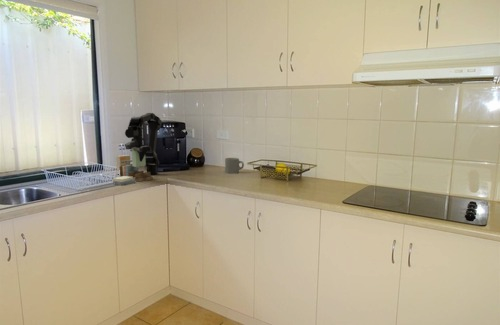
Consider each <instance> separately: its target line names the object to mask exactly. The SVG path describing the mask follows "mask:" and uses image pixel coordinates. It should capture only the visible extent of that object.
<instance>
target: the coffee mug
mask: <svg viewBox="0 0 500 325" xmlns="http://www.w3.org/2000/svg"><path fill="white" fill-rule="evenodd" d="M240 164H241V166H240ZM244 167H245V163H244V161H242V160H240V159H239V157H225V158H224V173H225V174H233V175H234V174H238V173H240V171H241V170H242V169H244Z"/></svg>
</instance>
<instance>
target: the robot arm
mask: <svg viewBox="0 0 500 325" xmlns="http://www.w3.org/2000/svg"><path fill="white" fill-rule="evenodd" d="M145 123H147V124H148V128H149V130H150V132H149V138H148V139H149V140H148V141H149V142H148V145H145V144H144V140H145V138H144V137H143V130H144V127H143V125H145ZM162 124H163V123H162V120H161V118H160V117H159V116H157V115H155V113H153V112H147V113H145V114H142V115H140V116H131V118H130V119H129V122H128V126H127V128H126V130H125V132H124V135H125V137H126V138H128V139H131V140H130V141H128V142H126V143H125V144H124V146H125V150H129V151H130V152H131V153H132V151H133V150H139V151H137V152H138V153H139V158H140V162H142V160H143V158H144V156H145V161H146V166H145V167H146V172H151V176H155V175H159V174H160V173H159V172H158V167H159V166H160V161H159V159H158V154H157V153H156V148H157V147H156V146H157V140H158V132H159V131H160V129H161V127H162Z"/></svg>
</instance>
